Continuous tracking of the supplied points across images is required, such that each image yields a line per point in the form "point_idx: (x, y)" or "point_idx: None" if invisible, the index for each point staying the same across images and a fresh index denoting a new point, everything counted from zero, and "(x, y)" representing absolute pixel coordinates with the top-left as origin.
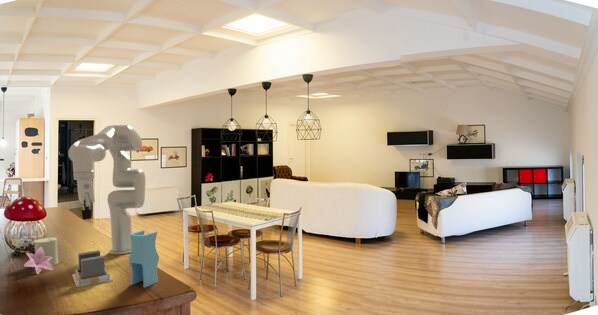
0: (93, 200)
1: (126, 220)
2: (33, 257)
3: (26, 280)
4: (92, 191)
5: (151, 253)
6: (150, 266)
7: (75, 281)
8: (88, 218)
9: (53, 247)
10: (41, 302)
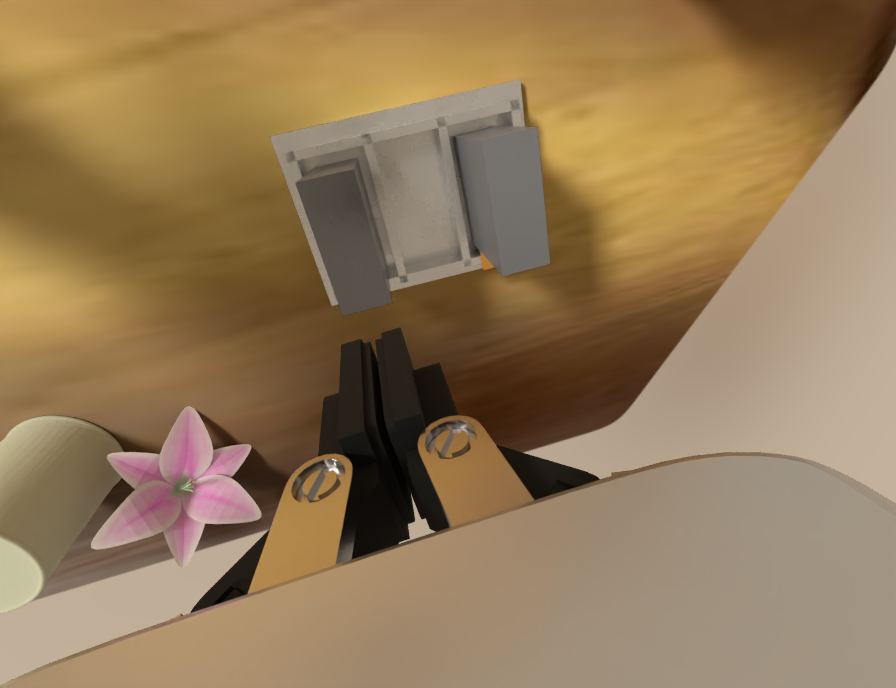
0: (891, 504)
1: None
2: (179, 522)
3: None
4: None
5: None
6: None
7: (458, 271)
8: (410, 362)
9: (21, 493)
10: (622, 344)
